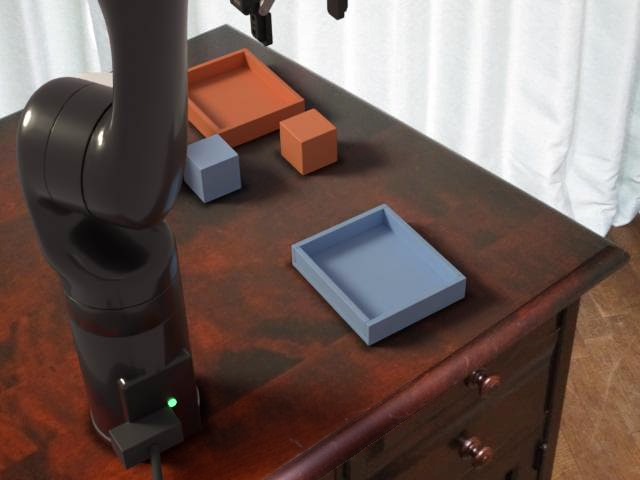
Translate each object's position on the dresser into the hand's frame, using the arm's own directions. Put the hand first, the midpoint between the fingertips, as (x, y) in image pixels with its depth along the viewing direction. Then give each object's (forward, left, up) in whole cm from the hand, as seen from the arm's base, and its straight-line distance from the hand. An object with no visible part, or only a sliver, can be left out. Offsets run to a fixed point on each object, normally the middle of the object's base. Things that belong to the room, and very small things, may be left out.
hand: (300, 28), depth 116 cm
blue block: (+1, +11, -16) cm, 20 cm away
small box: (+9, +19, -16) cm, 27 cm away
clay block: (-1, 0, -16) cm, 16 cm away
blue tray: (-21, +5, -16) cm, 27 cm away
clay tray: (+12, +2, -16) cm, 21 cm away
